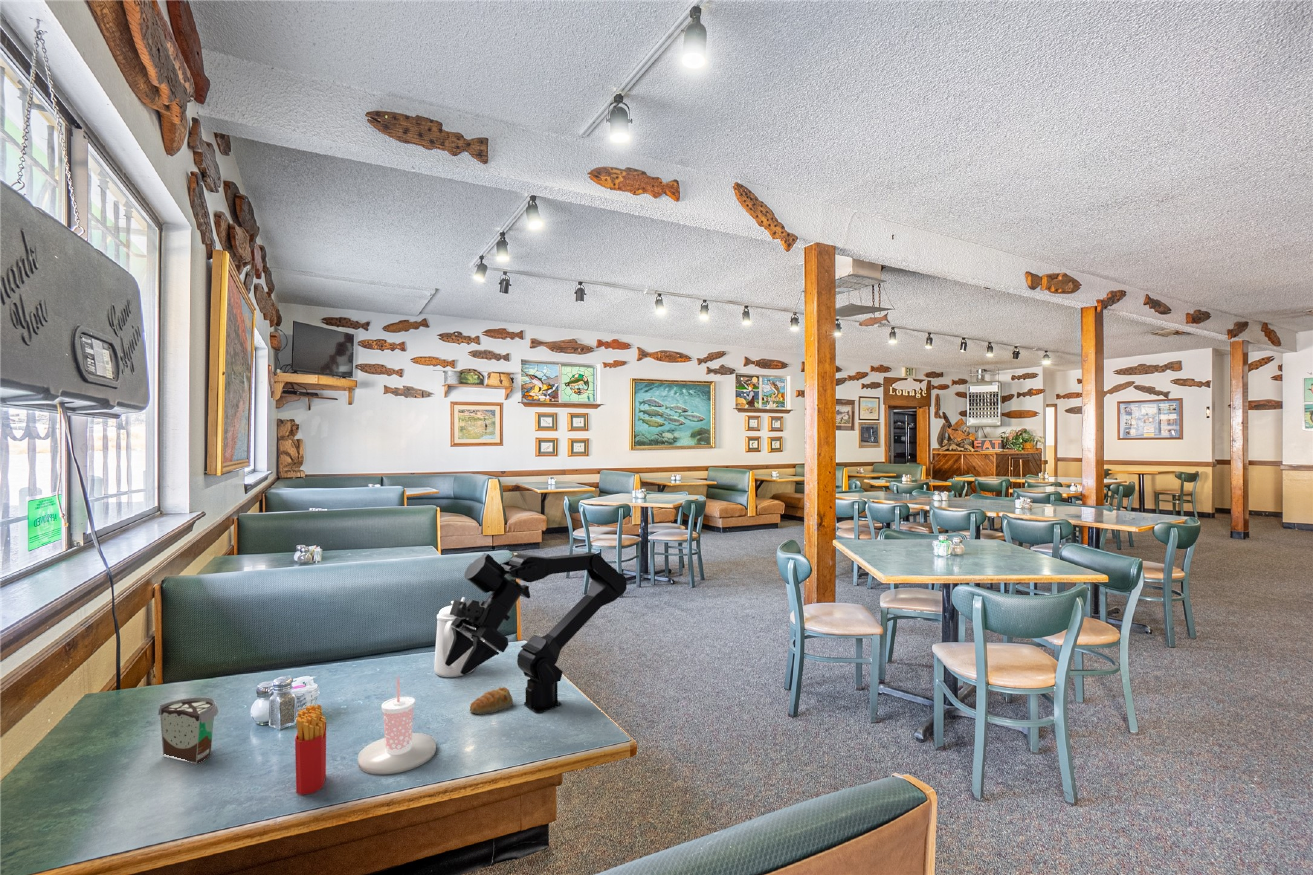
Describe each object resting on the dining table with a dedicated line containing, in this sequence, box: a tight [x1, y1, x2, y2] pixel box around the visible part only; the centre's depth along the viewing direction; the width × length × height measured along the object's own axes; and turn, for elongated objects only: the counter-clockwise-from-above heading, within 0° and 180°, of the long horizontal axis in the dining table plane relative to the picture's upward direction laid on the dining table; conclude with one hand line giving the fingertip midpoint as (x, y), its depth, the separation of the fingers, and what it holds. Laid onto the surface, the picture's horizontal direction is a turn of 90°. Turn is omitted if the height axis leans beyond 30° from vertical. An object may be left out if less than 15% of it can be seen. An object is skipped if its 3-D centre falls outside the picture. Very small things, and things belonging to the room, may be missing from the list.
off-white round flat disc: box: [357, 732, 437, 775], centre depth 121 cm, size 14×14×1 cm
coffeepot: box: [433, 596, 476, 678], centre depth 168 cm, size 11×25×19 cm, turn 6°
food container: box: [157, 696, 219, 765], centre depth 123 cm, size 12×6×10 cm, turn 71°
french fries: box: [294, 703, 327, 796], centre depth 112 cm, size 9×4×13 cm, turn 20°
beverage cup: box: [381, 676, 416, 755], centre depth 121 cm, size 6×6×14 cm
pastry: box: [469, 686, 514, 715], centre depth 143 cm, size 9×7×4 cm
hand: (454, 669), depth 130 cm, fingers open, 9 cm apart
